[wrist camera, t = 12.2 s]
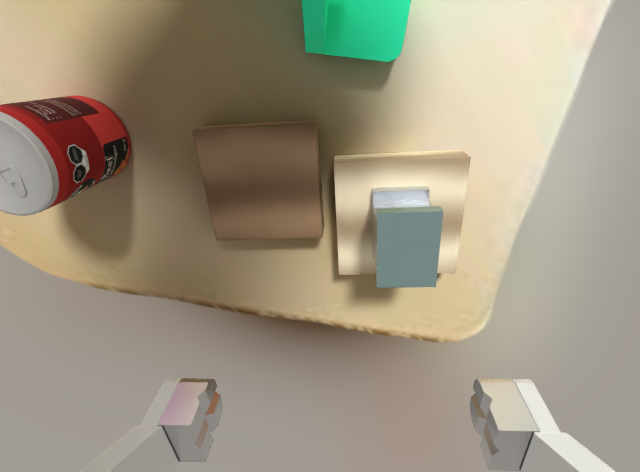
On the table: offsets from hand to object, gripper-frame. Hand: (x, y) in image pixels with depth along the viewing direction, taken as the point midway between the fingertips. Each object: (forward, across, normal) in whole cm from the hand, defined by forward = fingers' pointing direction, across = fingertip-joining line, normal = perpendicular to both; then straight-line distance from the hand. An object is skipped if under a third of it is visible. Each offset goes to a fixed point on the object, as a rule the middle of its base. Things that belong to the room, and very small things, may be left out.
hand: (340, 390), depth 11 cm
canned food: (+27, +25, -3) cm, 37 cm away
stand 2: (+26, -5, +6) cm, 27 cm away
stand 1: (+26, +8, +2) cm, 28 cm away
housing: (+23, -5, +6) cm, 25 cm away
